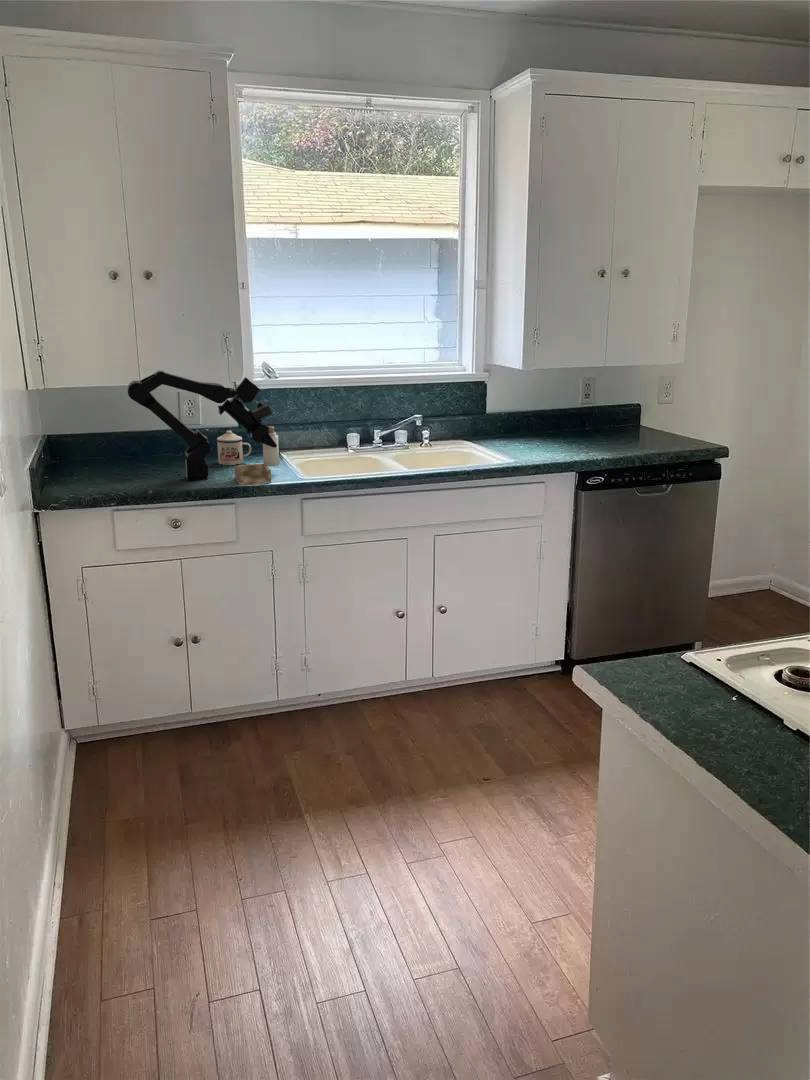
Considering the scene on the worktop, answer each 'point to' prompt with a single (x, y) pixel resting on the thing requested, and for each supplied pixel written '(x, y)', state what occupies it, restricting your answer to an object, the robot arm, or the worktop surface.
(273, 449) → the stoneware bottle
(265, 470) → the maple U-rest
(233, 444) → the teacup with lid
